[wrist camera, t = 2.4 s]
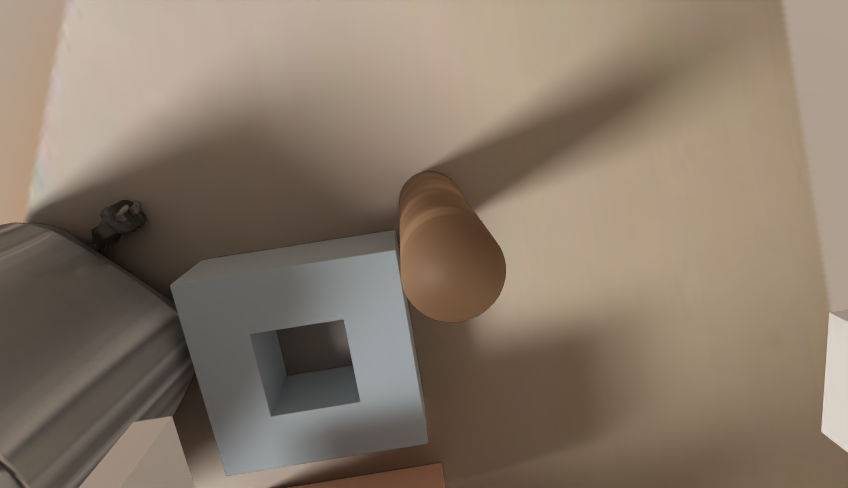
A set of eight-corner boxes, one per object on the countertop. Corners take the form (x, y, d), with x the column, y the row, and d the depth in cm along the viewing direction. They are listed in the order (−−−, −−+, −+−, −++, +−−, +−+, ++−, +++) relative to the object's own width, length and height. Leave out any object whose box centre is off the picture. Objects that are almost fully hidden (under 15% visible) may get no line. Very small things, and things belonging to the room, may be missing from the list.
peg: (404, 235, 35) (409, 329, 20) (394, 176, 34) (392, 230, 19) (463, 226, 35) (511, 313, 20) (455, 167, 34) (499, 213, 19)
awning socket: (251, 515, 40) (183, 709, 27) (179, 263, 34) (50, 357, 22) (457, 482, 40) (486, 659, 27) (417, 226, 34) (430, 297, 22)
